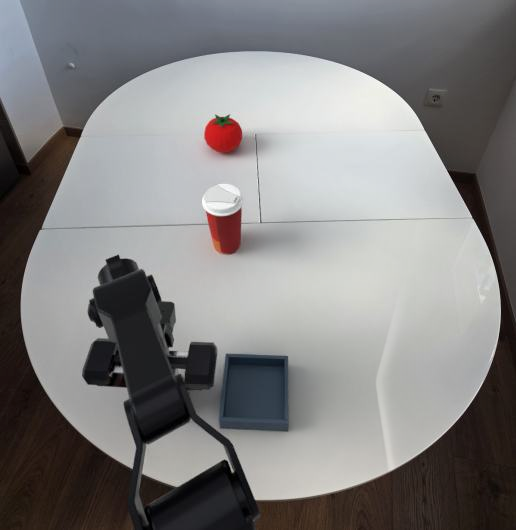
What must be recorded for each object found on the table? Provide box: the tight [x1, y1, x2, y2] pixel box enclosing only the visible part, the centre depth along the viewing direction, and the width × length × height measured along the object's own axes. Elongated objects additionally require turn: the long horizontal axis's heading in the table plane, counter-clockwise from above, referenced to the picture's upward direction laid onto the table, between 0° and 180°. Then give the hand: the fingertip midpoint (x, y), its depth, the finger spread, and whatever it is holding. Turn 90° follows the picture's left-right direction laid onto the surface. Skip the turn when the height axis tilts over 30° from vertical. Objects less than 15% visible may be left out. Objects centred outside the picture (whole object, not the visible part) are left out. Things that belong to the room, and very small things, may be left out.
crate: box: [218, 352, 289, 432], centre depth 71 cm, size 11×11×4 cm
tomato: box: [203, 114, 243, 154], centre depth 117 cm, size 10×10×10 cm
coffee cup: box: [201, 183, 244, 255], centre depth 90 cm, size 8×8×15 cm
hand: (161, 386), depth 69 cm, fingers open, 9 cm apart
